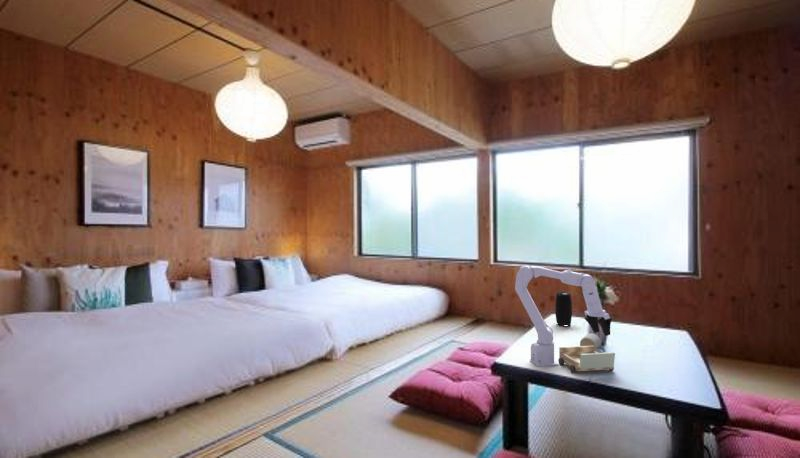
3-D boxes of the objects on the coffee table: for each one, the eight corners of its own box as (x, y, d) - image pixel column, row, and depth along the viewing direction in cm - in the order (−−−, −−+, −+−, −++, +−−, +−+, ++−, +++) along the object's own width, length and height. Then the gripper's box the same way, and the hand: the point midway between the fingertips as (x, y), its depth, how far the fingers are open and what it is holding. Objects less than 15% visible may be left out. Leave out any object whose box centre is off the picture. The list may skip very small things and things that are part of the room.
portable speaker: (557, 322, 250) (557, 290, 250) (573, 324, 245) (573, 292, 245) (553, 325, 243) (553, 292, 243) (570, 327, 238) (570, 294, 238)
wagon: (574, 375, 165) (574, 357, 165) (557, 363, 179) (557, 347, 179) (615, 372, 167) (615, 355, 167) (595, 361, 181) (595, 345, 181)
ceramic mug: (578, 351, 195) (579, 335, 195) (585, 347, 201) (585, 331, 201) (602, 356, 188) (602, 340, 188) (608, 352, 194) (608, 336, 193)
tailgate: (580, 368, 164) (581, 355, 163) (579, 367, 165) (580, 353, 164) (613, 366, 166) (615, 353, 165) (612, 365, 167) (613, 352, 166)
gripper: (612, 301, 166) (621, 333, 165) (591, 298, 180) (600, 328, 179) (596, 305, 165) (606, 338, 164) (577, 302, 179) (585, 333, 178)
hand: (602, 333), depth 172 cm, fingers open, 7 cm apart
